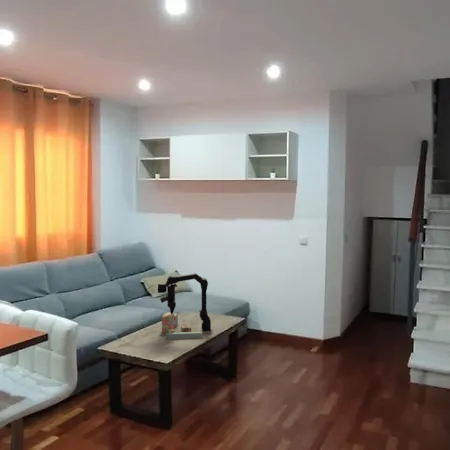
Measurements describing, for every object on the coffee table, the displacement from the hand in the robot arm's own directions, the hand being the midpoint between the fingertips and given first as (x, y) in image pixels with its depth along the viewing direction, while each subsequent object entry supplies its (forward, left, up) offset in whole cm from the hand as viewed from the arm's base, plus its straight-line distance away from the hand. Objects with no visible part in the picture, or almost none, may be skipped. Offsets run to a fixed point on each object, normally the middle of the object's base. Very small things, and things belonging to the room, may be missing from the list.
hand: (171, 312), depth 375 cm
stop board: (-9, +19, -14) cm, 25 cm away
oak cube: (0, +13, -14) cm, 19 cm away
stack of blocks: (+1, -7, -14) cm, 16 cm away
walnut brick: (-11, +6, -14) cm, 19 cm away
